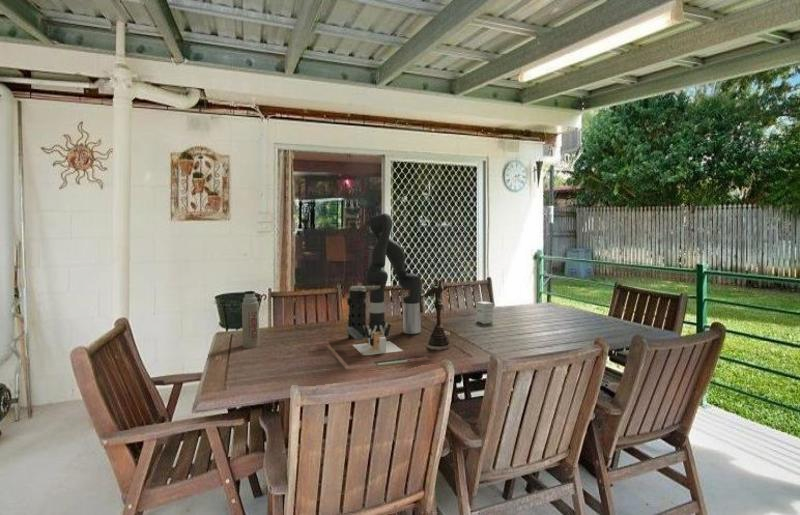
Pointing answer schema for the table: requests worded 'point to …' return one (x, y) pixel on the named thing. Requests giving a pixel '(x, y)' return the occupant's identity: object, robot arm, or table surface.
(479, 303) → the grey cylindrical canister
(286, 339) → the table surface
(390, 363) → the mat
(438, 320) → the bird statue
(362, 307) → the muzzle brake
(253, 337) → the thermos bottle
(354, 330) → the strap
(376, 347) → the orange block
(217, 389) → the table surface
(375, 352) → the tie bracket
